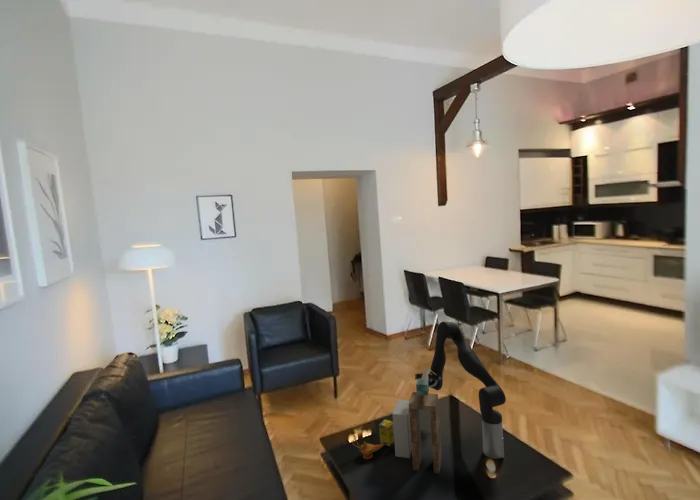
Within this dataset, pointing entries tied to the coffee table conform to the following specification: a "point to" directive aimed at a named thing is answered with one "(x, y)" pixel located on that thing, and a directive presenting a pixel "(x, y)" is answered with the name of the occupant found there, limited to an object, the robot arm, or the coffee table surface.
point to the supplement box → (386, 432)
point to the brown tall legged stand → (414, 405)
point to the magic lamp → (368, 448)
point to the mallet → (423, 383)
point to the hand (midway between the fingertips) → (425, 375)
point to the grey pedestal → (402, 429)
